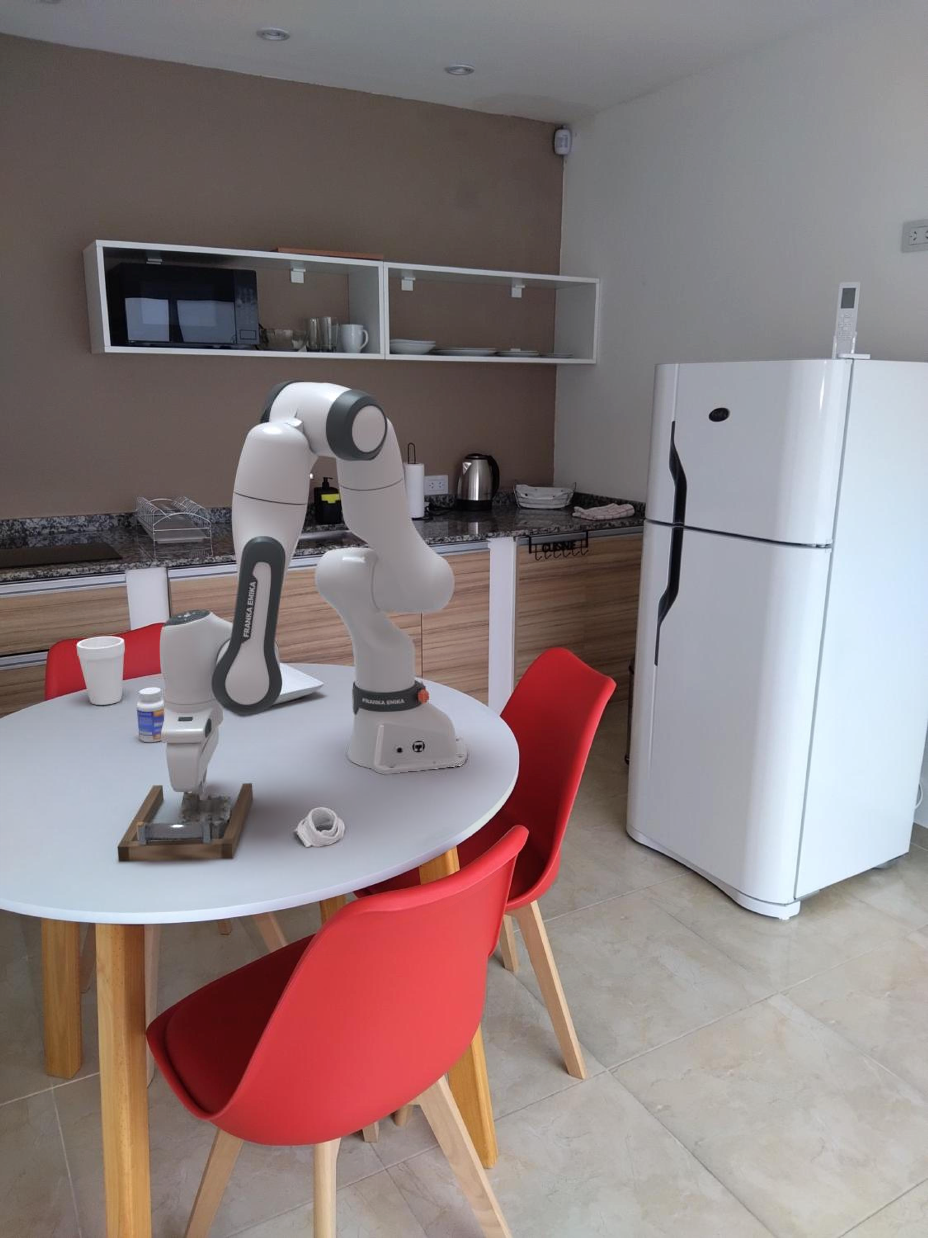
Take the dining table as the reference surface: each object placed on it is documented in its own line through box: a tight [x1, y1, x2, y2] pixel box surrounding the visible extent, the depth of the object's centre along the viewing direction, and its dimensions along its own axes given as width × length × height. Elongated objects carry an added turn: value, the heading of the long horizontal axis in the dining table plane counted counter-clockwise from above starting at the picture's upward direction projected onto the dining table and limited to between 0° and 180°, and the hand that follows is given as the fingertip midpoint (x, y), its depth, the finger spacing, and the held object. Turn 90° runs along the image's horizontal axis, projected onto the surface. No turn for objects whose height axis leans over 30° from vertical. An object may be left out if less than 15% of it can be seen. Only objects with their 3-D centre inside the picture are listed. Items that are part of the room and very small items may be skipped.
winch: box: [136, 821, 212, 846], centre depth 127 cm, size 10×2×3 cm, turn 95°
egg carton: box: [178, 792, 232, 840], centre depth 137 cm, size 11×8×4 cm
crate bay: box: [116, 782, 254, 863], centre depth 137 cm, size 16×20×3 cm
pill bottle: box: [136, 686, 164, 743], centre depth 171 cm, size 5×5×10 cm
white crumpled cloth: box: [293, 806, 346, 848], centre depth 135 cm, size 8×7×5 cm
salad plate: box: [272, 661, 325, 706], centre depth 198 cm, size 21×21×3 cm
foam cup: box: [76, 635, 126, 706], centre depth 191 cm, size 10×9×13 cm
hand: (199, 792), depth 143 cm, fingers closed
